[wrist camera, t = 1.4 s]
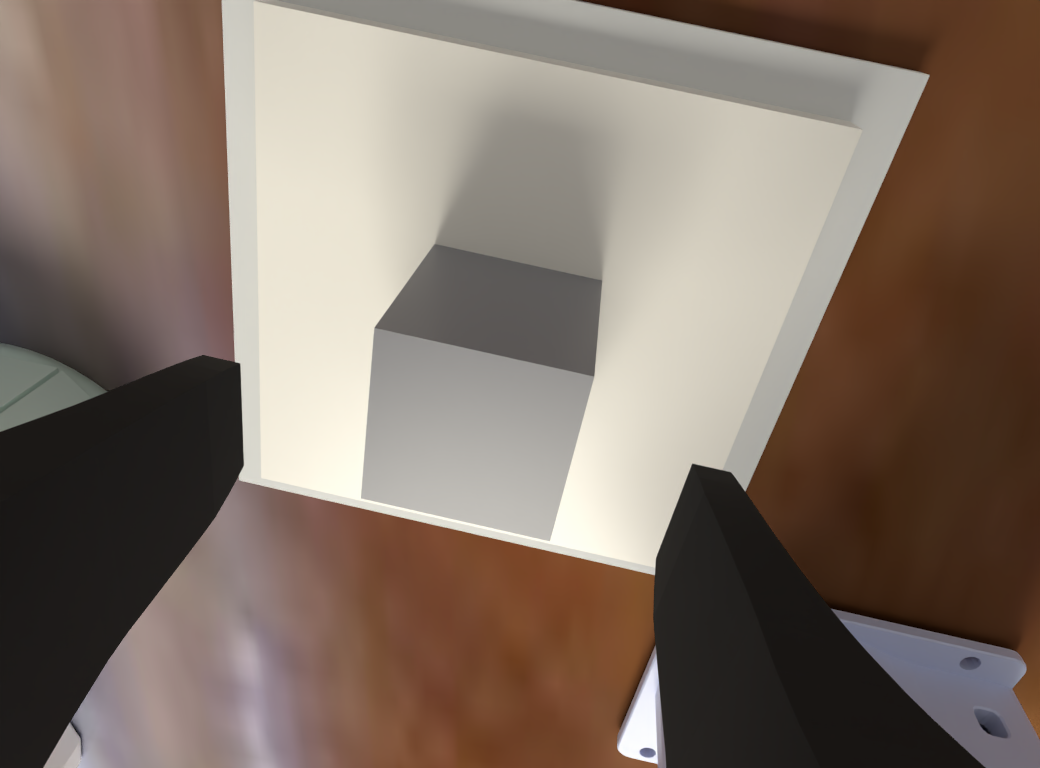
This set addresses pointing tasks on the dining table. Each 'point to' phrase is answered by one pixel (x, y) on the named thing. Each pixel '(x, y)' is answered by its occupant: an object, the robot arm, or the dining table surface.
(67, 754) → the white cup
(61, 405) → the bowl
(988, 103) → the dining table surface
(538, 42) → the cream square tray
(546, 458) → the lid
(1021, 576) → the dining table surface
